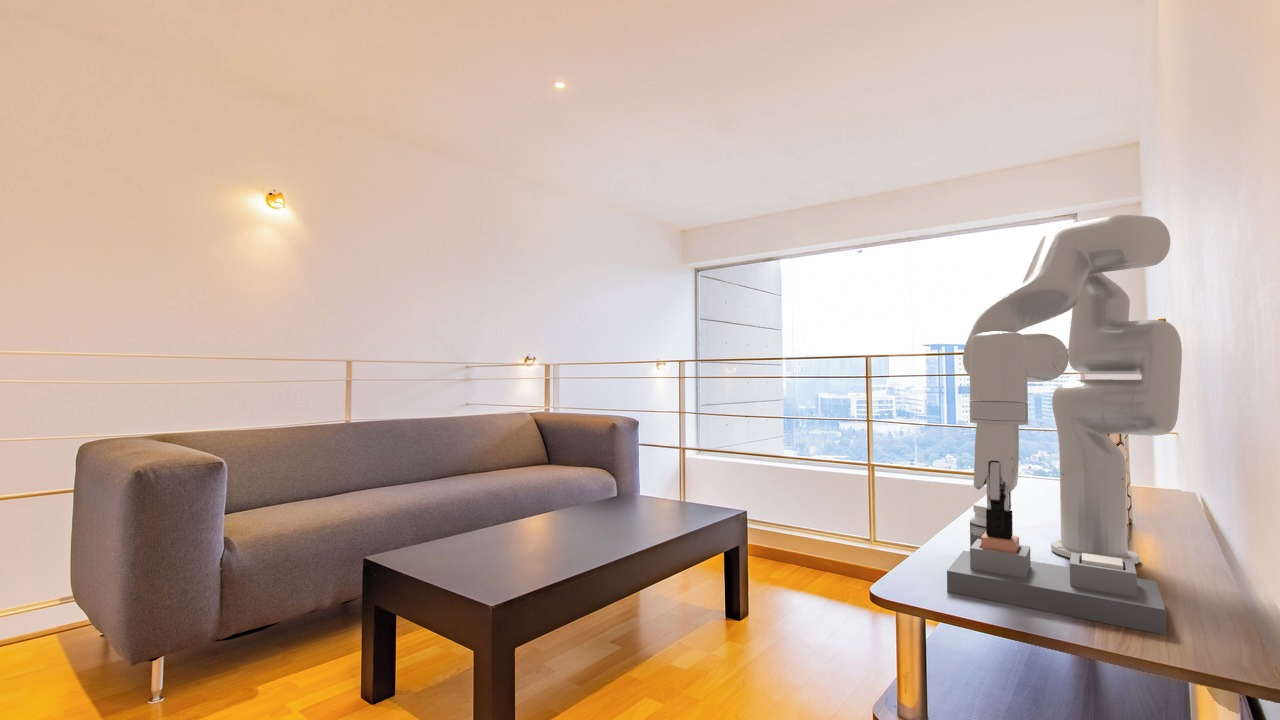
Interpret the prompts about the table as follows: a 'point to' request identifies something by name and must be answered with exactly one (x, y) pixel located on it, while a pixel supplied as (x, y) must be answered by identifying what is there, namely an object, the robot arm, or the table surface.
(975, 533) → the pill bottle
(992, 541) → the terracotta key
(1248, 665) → the table surface
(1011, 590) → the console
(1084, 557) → the pale key
